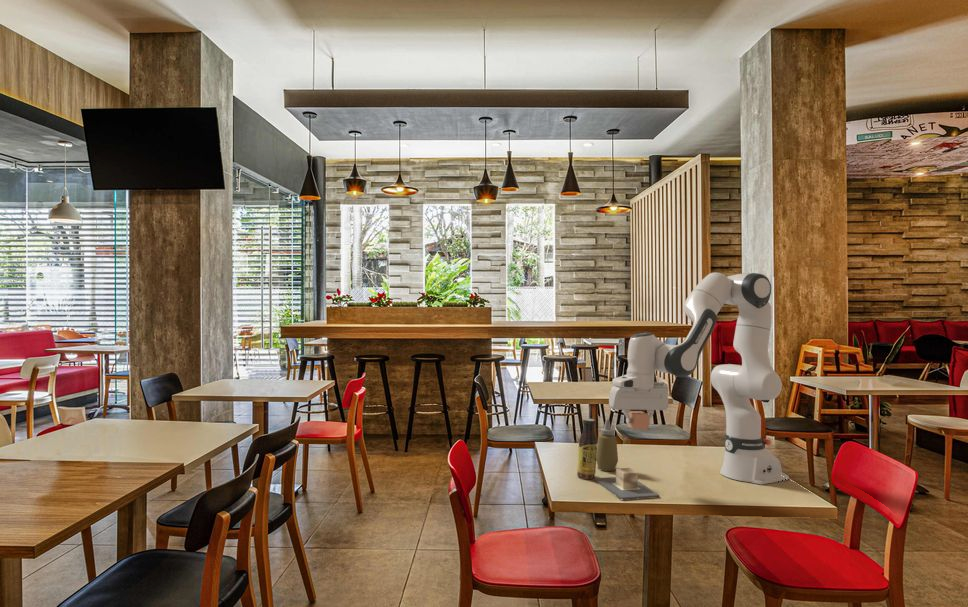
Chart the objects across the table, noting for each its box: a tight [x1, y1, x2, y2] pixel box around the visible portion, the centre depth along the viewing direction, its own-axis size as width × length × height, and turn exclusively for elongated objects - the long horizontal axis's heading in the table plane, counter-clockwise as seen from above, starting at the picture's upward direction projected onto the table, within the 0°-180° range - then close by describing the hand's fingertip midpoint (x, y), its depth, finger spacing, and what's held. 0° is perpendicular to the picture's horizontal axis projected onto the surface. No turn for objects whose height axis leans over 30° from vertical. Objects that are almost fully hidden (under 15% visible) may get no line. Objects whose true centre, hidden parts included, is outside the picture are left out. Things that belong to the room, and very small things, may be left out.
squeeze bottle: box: [596, 418, 619, 472], centre depth 190 cm, size 8×8×18 cm
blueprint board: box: [595, 476, 660, 500], centre depth 170 cm, size 13×18×1 cm
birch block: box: [615, 467, 639, 489], centre depth 170 cm, size 5×5×5 cm
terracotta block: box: [626, 410, 650, 431], centre depth 174 cm, size 5×5×5 cm
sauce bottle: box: [576, 418, 598, 480], centre depth 181 cm, size 6×6×20 cm
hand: (637, 423), depth 174 cm, fingers closed on terracotta block, 5 cm apart
